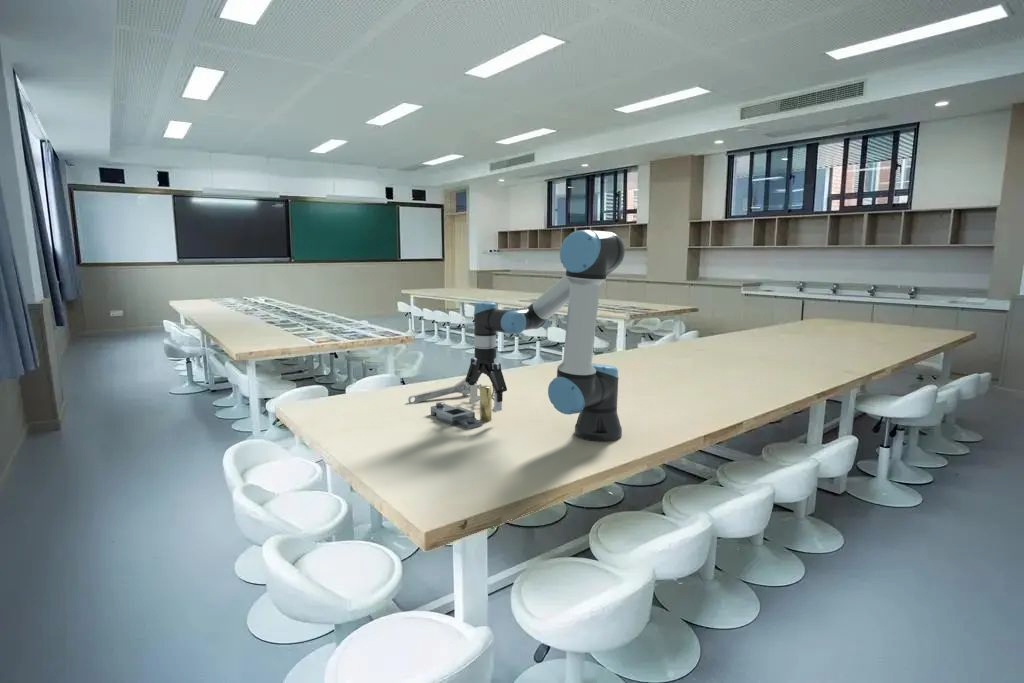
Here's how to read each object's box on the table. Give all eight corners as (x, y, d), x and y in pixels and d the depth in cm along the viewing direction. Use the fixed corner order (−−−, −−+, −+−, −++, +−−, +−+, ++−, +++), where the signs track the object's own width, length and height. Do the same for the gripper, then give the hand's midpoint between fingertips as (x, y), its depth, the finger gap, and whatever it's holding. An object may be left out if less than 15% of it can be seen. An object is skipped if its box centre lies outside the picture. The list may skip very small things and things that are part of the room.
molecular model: (458, 402, 218) (458, 377, 218) (480, 400, 224) (481, 376, 223) (483, 412, 202) (484, 385, 202) (506, 409, 208) (507, 383, 207)
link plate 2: (486, 424, 189) (486, 417, 189) (463, 430, 183) (463, 423, 183) (458, 414, 201) (458, 407, 201) (436, 419, 195) (436, 412, 195)
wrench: (409, 409, 218) (478, 392, 231) (411, 411, 216) (480, 393, 230) (406, 390, 216) (475, 373, 229) (408, 391, 214) (477, 374, 228)
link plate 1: (474, 420, 194) (474, 409, 193) (452, 425, 188) (452, 414, 187) (448, 410, 206) (448, 400, 205) (426, 415, 200) (426, 404, 199)
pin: (493, 420, 194) (493, 387, 192) (484, 422, 192) (484, 388, 190) (486, 417, 197) (486, 384, 195) (477, 419, 195) (477, 386, 193)
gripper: (517, 350, 184) (517, 412, 187) (472, 341, 202) (472, 397, 205) (500, 353, 179) (500, 416, 182) (455, 343, 197) (456, 401, 201)
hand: (485, 406), depth 194 cm, fingers open, 13 cm apart
